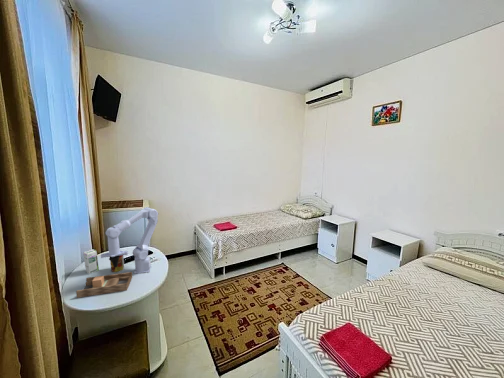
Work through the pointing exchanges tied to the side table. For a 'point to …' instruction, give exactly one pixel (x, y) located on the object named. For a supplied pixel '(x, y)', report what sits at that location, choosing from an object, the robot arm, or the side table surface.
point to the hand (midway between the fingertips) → (115, 266)
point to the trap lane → (106, 285)
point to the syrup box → (91, 261)
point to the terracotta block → (98, 281)
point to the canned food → (120, 265)
